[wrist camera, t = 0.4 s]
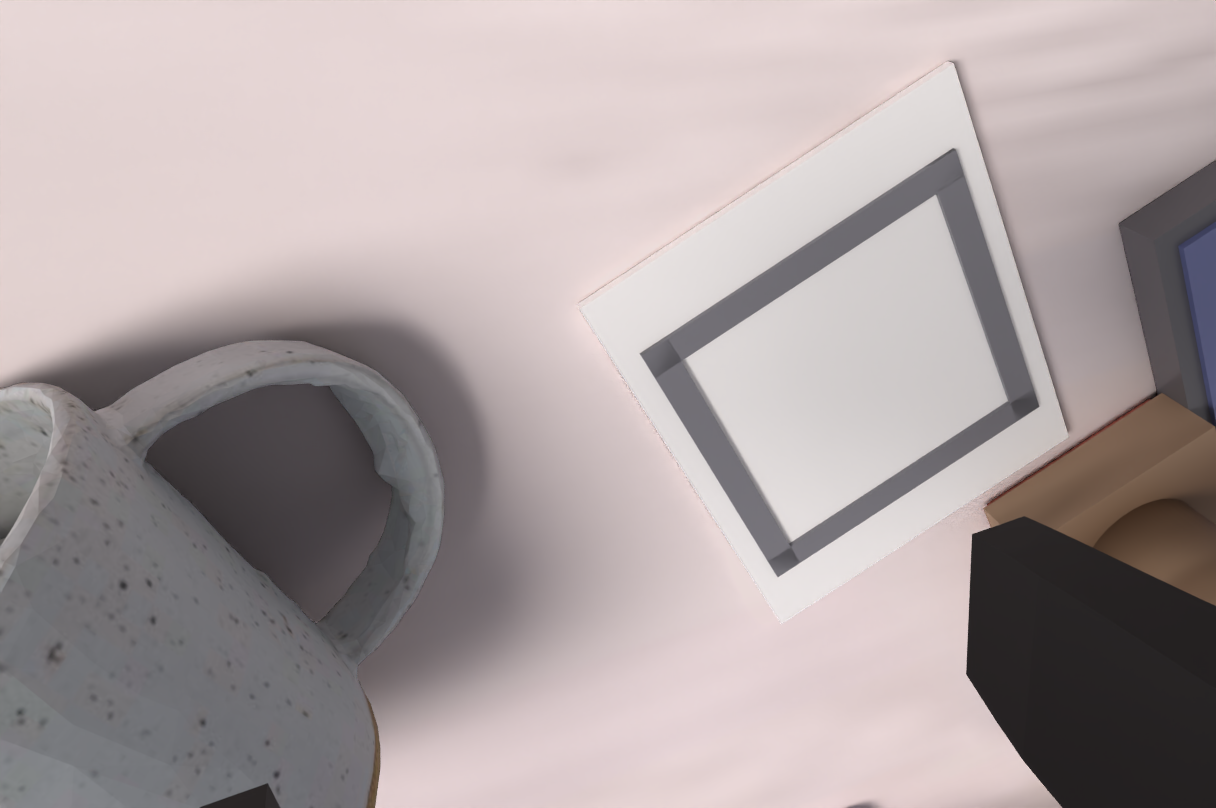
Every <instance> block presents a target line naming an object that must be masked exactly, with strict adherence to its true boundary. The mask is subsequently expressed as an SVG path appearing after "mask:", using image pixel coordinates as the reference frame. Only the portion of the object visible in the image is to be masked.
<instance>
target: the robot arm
mask: <svg viewBox="0 0 1216 808" xmlns="http://www.w3.org/2000/svg"><path fill="white" fill-rule="evenodd" d="M966 674H967V676H968V678H969V679H970V681H971V682H972V684H973V685H974V687H975V689H976V690H977V692H978V693H979V695H980V696H981V698H982V699H983V701H984V703H985V704H986V706H987V707H988V709H989V710H990V712H991V714H992V715H993V717H994V718H995V720H996V721H997V723H998V724H999V726H1000V727H1001V729H1002V730H1003V732H1004V733H1005V735H1006V736H1007V737H1008V739H1009V740H1010V742H1011V743H1012V745H1013V746H1014V748H1015V749H1016V751H1017V752H1018V754H1019V755H1020V757H1021V758H1022V759H1023V761H1024V762H1025V763H1026V764H1027V766H1028V767H1029V768H1030V769H1031V770H1032V772H1033V773H1034V774H1035V775H1036V777H1037V778H1038V779H1039V780H1040V781H1041V783H1042V784H1043V785H1044V786H1045V787H1046V789H1047V790H1048V791H1049V792H1050V793H1051V794H1052V796H1053V797H1054V798H1055V799H1056V800H1057V802H1058V803H1059V804H1060V805H1061V806H1062V808H1216V606H1215V605H1213V604H1211V603H1209V602H1206V601H1204V600H1202V599H1200V598H1198V597H1196V596H1194V595H1191V594H1189V593H1187V592H1185V591H1183V590H1181V589H1179V588H1176V587H1174V586H1172V585H1170V584H1168V583H1166V582H1164V581H1162V580H1160V579H1157V578H1155V577H1153V576H1151V575H1149V574H1147V573H1145V572H1143V571H1141V570H1139V569H1136V568H1134V567H1132V566H1130V565H1128V564H1126V563H1124V562H1122V561H1120V560H1118V559H1116V558H1113V557H1111V556H1109V555H1107V554H1105V553H1103V552H1101V551H1099V550H1097V549H1095V548H1093V547H1090V546H1088V545H1086V544H1084V543H1082V542H1080V541H1078V540H1076V539H1074V538H1072V537H1069V536H1067V535H1065V534H1063V533H1061V532H1059V531H1057V530H1054V529H1052V528H1050V527H1048V526H1046V525H1043V524H1041V523H1039V522H1037V521H1034V520H1032V519H1030V518H1028V517H1025V516H1023V517H1020V518H1017V519H1014V520H1012V521H1009V522H1006V523H1003V524H1000V525H997V526H995V527H992V528H989V529H986V530H983V531H980V532H978V533H975V534H972V551H971V575H970V599H969V623H968V647H967V671H966ZM200 808H280V806H279V804H278V802H277V800H276V798H275V796H274V794H273V792H272V790H271V788H270V786H269V784H268V783H267V784H264V785H261V786H258V787H255V788H253V789H250V790H247V791H244V792H241V793H238V794H236V795H233V796H230V797H227V798H224V799H221V800H219V801H216V802H213V803H210V804H207V805H204V806H202V807H200Z"/></svg>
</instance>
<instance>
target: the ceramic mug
mask: <svg viewBox="0 0 1216 808" xmlns="http://www.w3.org/2000/svg"><path fill="white" fill-rule="evenodd" d="M305 383H310V384H312V385H314V386H327V385H329V386H330V388H331V390H332V392H333V393H334V395H335V396H336V397H337V399H338V400H339V401H340V403H341V404H342V405H343V407H344V408H345V409H346V411H347V412H348V413H349V415H350V416H351V417H352V418H353V419H354V420H355V422H356V424H357V425H358V427H359V428H360V430H361V432H362V433H363V435H364V437H365V439H366V441H367V442H368V444H369V446H370V448H371V450H372V452H373V456H374V467H375V472H376V473H377V474H378V475H379V476H380V477H381V478H382V479H383V480H384V481H385V482H386V483H388V484H390V485H392V499H391V504H390V509H389V514H388V518H387V522H386V525H385V529H384V532H383V534H382V536H381V539H380V541H379V543H378V545H377V547H376V548H375V549H374V551H373V552H372V553H371V555H370V557H369V560H368V563H367V566H366V568H365V569H364V570H363V572H362V573H361V574H360V575H359V576H358V578H357V579H356V580H355V581H354V583H353V584H352V585H351V587H350V588H349V590H348V591H347V593H346V594H345V596H344V597H343V598H342V599H340V600H339V601H338V602H337V603H336V605H335V606H334V607H333V608H332V609H331V610H330V611H329V613H328V614H327V615H326V616H325V617H324V618H323V619H322V620H321V621H320V622H318V623H315V624H314V623H313V622H312V621H311V620H310V619H309V618H308V617H307V616H306V615H305V614H304V613H303V612H302V610H301V609H300V608H299V606H298V605H297V604H296V603H295V602H294V601H292V600H291V599H289V598H288V597H287V596H286V595H285V594H284V593H283V592H282V591H281V590H280V589H279V588H278V587H277V586H276V585H275V584H274V583H273V582H272V581H271V579H270V578H269V577H268V576H267V575H266V574H265V573H264V572H262V571H259V570H257V569H255V568H253V567H252V566H251V565H250V564H249V563H248V562H247V561H246V560H245V559H244V558H243V557H242V556H241V555H240V554H239V553H238V552H237V551H236V550H235V549H233V548H232V547H231V546H230V545H229V544H228V543H227V542H226V541H225V540H224V538H223V537H222V536H221V535H220V534H219V533H218V532H217V531H216V530H215V528H214V527H213V526H212V525H211V524H210V523H209V522H208V521H207V519H206V518H205V517H204V516H203V515H202V514H201V513H200V512H199V511H198V510H197V509H196V508H195V507H194V506H193V505H192V503H191V502H190V501H189V500H188V499H186V498H185V497H183V496H182V495H181V494H180V493H179V491H178V490H176V489H175V488H174V487H173V486H172V485H171V484H169V483H168V482H167V481H166V480H165V479H164V478H163V477H162V476H161V475H160V474H159V473H158V472H157V471H156V470H155V469H154V468H153V466H152V465H151V464H149V463H148V462H146V461H145V457H146V454H147V451H148V449H149V448H150V447H151V446H152V445H153V444H154V443H155V441H156V440H157V439H158V438H159V437H160V436H161V435H162V434H164V433H165V432H167V431H168V430H170V429H171V428H173V427H174V426H176V425H178V424H179V423H181V422H183V421H186V420H188V419H191V418H194V417H196V416H198V415H199V414H201V413H202V412H204V411H205V410H207V409H209V408H210V407H212V406H215V405H217V404H219V403H222V402H224V401H226V400H229V399H231V398H233V397H236V396H238V395H241V394H243V393H245V392H248V391H250V390H253V389H256V388H260V387H265V386H269V385H290V384H305ZM443 521H444V479H443V475H442V471H441V468H440V464H439V460H438V456H437V453H436V449H435V446H434V444H433V442H432V440H431V438H430V436H429V434H428V433H427V431H426V429H425V427H424V425H423V424H422V422H421V420H420V419H419V417H418V416H417V414H416V413H415V411H414V410H413V408H412V407H411V406H410V404H409V403H408V401H407V400H406V398H405V397H404V395H403V394H402V393H401V392H400V391H399V390H398V389H396V388H395V387H394V386H393V385H392V384H391V383H390V382H389V381H387V380H386V379H385V378H384V377H383V376H382V375H381V374H380V373H379V372H377V371H376V370H374V369H371V368H370V367H369V366H367V365H364V364H362V363H360V362H357V361H355V360H353V359H350V358H348V357H345V356H343V355H341V354H338V353H336V352H333V351H331V350H328V349H326V348H323V347H319V346H316V345H313V344H310V343H307V342H304V341H287V340H252V341H246V342H240V343H235V344H229V345H226V346H223V347H220V348H217V349H214V350H210V351H207V352H205V353H202V354H200V355H198V356H196V357H193V358H191V359H189V360H186V361H184V362H182V363H179V364H177V365H175V366H173V367H171V368H169V369H167V370H166V371H164V372H162V373H160V374H158V375H157V376H155V377H153V378H151V379H149V380H148V381H146V382H144V383H142V384H140V385H139V386H137V387H135V388H133V389H131V390H130V391H129V392H127V393H126V394H125V395H123V396H122V397H121V398H120V399H118V400H117V401H116V402H114V403H113V404H112V405H110V406H108V407H105V408H102V409H99V410H96V411H93V410H92V409H90V408H89V407H88V406H87V405H85V404H84V403H83V402H82V401H81V400H80V399H79V398H77V397H75V396H74V395H72V394H70V393H69V392H67V391H65V390H63V389H62V388H60V387H57V386H54V385H50V384H46V383H18V384H15V385H12V386H9V387H6V388H1V389H0V808H200V807H202V806H204V805H207V804H210V803H213V802H216V801H219V800H221V799H224V798H227V797H230V796H233V795H236V794H238V793H241V792H244V791H247V790H250V789H253V788H255V787H258V786H261V785H264V784H267V783H268V784H269V786H270V788H271V790H272V792H273V794H274V796H275V798H276V800H277V802H278V804H279V806H280V808H375V804H376V796H377V789H378V781H379V774H380V742H379V734H378V726H377V723H376V720H375V717H374V714H373V711H372V707H371V704H370V702H369V700H368V698H367V697H366V695H365V693H364V691H363V689H362V687H361V685H360V683H359V681H358V680H357V669H358V665H359V664H360V663H361V662H362V661H363V660H364V659H365V658H366V657H367V656H368V655H370V654H371V653H372V652H373V651H375V650H376V649H377V648H378V647H379V646H380V644H381V643H382V642H383V641H384V639H385V638H386V637H387V636H388V635H389V634H390V633H391V632H392V631H393V630H394V629H395V627H396V626H397V625H398V623H399V622H400V620H401V618H402V617H403V615H404V614H405V613H406V611H407V610H408V609H409V608H410V606H411V605H412V604H413V602H414V601H415V599H416V598H417V596H418V594H419V592H420V590H421V588H422V586H423V584H424V582H425V579H426V577H427V575H428V573H429V571H430V569H431V567H432V565H433V563H434V561H435V559H436V556H437V553H438V550H439V547H440V542H441V535H442V528H443Z"/></svg>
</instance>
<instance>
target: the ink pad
mask: <svg viewBox="0 0 1216 808" xmlns="http://www.w3.org/2000/svg"><path fill="white" fill-rule="evenodd" d="M1119 227H1120V231H1121V236H1122V240H1123V245H1124V249H1125V253H1126V258H1127V262H1128V266H1129V271H1130V275H1131V280H1132V284H1133V288H1134V293H1135V297H1136V301H1137V306H1138V310H1139V315H1140V319H1141V323H1142V328H1143V332H1144V336H1145V341H1146V345H1147V350H1148V354H1149V358H1150V363H1151V367H1152V371H1153V376H1154V380H1155V385H1156V389H1157V393H1158V395H1159V394H1161V393H1163V394H1165V395H1166V396H1168V397H1169V398H1171V399H1173V400H1174V401H1176V402H1177V403H1179V404H1180V405H1182V406H1184V407H1185V408H1187V409H1188V410H1190V411H1191V412H1193V413H1195V414H1196V415H1198V416H1199V417H1201V418H1202V419H1204V420H1206V421H1207V422H1209V423H1210V424H1212V425H1213V426H1215V430H1216V161H1214V162H1213V163H1211V164H1210V165H1208V166H1207V167H1205V168H1203V169H1202V170H1200V171H1199V172H1197V173H1196V174H1194V175H1193V176H1191V177H1190V178H1188V179H1187V180H1185V181H1184V182H1182V183H1181V184H1179V185H1177V186H1176V187H1174V188H1173V189H1171V190H1170V191H1168V192H1167V193H1165V194H1164V195H1162V196H1161V197H1159V198H1158V199H1156V200H1155V201H1153V202H1151V203H1150V204H1148V205H1147V206H1145V207H1144V208H1142V209H1141V210H1139V211H1138V212H1136V213H1135V214H1133V215H1132V216H1130V217H1128V218H1127V219H1125V220H1124V221H1122V222H1121V223H1119Z"/></svg>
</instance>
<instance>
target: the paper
mask: <svg viewBox="0 0 1216 808" xmlns="http://www.w3.org/2000/svg"><path fill="white" fill-rule="evenodd" d="M577 306H578V308H579V310H580V311H581V313H582V314H583V316H584V317H585V319H586V320H587V322H588V324H589V325H590V327H591V328H592V330H593V331H594V333H595V335H596V336H597V338H598V339H599V341H600V342H601V344H602V345H603V347H604V349H605V350H606V352H607V353H608V355H609V356H610V358H611V360H612V361H613V363H614V364H615V366H616V367H617V369H618V370H619V372H620V374H621V375H622V377H623V378H624V380H625V381H626V383H627V384H628V386H629V388H630V389H631V391H632V392H633V394H634V395H635V397H636V399H637V400H638V402H639V403H640V405H641V406H642V408H643V409H644V411H645V413H646V414H647V416H648V417H649V419H650V420H651V422H652V424H653V425H654V427H655V428H656V430H657V431H658V433H659V434H660V436H661V438H662V439H663V441H664V442H665V444H666V445H667V447H668V449H669V450H670V452H671V453H672V455H673V456H674V458H675V459H676V461H677V463H678V464H679V466H680V467H681V469H682V470H683V472H684V474H685V475H686V477H687V478H688V480H689V481H690V483H691V484H692V486H693V488H694V489H695V491H696V492H697V494H698V495H699V497H700V499H701V500H702V502H703V503H704V505H705V506H706V508H707V509H708V511H709V513H710V514H711V516H712V517H713V519H714V520H715V522H716V523H717V525H718V527H719V528H720V530H721V531H722V533H723V534H724V536H725V538H726V539H727V541H728V542H729V544H730V545H731V547H732V548H733V550H734V552H735V553H736V555H737V556H738V558H739V559H740V561H741V563H742V564H743V566H744V567H745V569H746V570H747V572H748V573H749V575H750V577H751V578H752V580H753V581H754V583H755V584H756V586H757V588H758V589H759V591H760V592H761V594H762V595H763V597H764V598H765V600H766V602H767V603H768V605H769V606H770V608H771V609H772V611H773V613H774V614H775V616H776V617H777V619H778V620H779V622H780V623H781V624H783V623H784V622H786V621H787V620H789V619H791V618H792V617H794V616H795V615H797V614H798V613H800V612H801V611H803V610H804V609H806V608H807V607H809V606H810V605H812V604H814V603H815V602H817V601H818V600H820V599H821V598H823V597H824V596H826V595H827V594H829V593H830V592H832V591H834V590H835V589H837V588H838V587H840V586H841V585H843V584H844V583H846V582H847V581H849V580H850V579H852V578H853V577H855V576H857V575H858V574H860V573H861V572H863V571H864V570H866V569H867V568H869V567H870V566H872V565H873V564H875V563H877V562H878V561H880V560H881V559H883V558H884V557H886V556H887V555H889V554H890V553H892V552H893V551H895V550H896V549H898V548H900V547H901V546H903V545H904V544H906V543H907V542H909V541H910V540H912V539H913V538H915V537H916V536H918V535H919V534H921V533H923V532H924V531H926V530H927V529H929V528H930V527H932V526H933V525H935V524H936V523H938V522H939V521H941V520H943V519H944V518H946V517H947V516H949V515H950V514H952V513H953V512H955V511H956V510H958V509H959V508H961V507H962V506H964V505H966V504H967V503H969V502H970V501H972V500H973V499H975V498H976V497H978V496H979V495H981V494H982V493H984V492H986V491H987V490H989V489H990V488H992V487H993V486H995V485H996V484H998V483H999V482H1001V481H1002V480H1004V479H1005V478H1007V477H1009V476H1010V475H1012V474H1013V473H1015V472H1016V471H1018V470H1019V469H1021V468H1022V467H1024V466H1025V465H1027V464H1029V463H1030V462H1032V461H1033V460H1035V459H1036V458H1038V457H1039V456H1041V455H1042V454H1044V453H1045V452H1047V451H1048V450H1050V449H1052V448H1053V447H1055V446H1056V445H1058V444H1059V443H1061V442H1062V441H1064V440H1065V439H1067V438H1068V437H1069V435H1068V432H1067V429H1066V425H1065V422H1064V419H1063V416H1062V412H1061V409H1060V406H1059V403H1058V399H1057V396H1056V393H1055V390H1054V386H1053V383H1052V380H1051V377H1050V373H1049V370H1048V367H1047V364H1046V360H1045V357H1044V354H1043V351H1042V348H1041V344H1040V341H1039V338H1038V335H1037V331H1036V328H1035V325H1034V322H1033V318H1032V315H1031V312H1030V309H1029V305H1028V302H1027V299H1026V296H1025V292H1024V289H1023V286H1022V283H1021V279H1020V276H1019V273H1018V270H1017V266H1016V263H1015V260H1014V257H1013V254H1012V250H1011V247H1010V244H1009V241H1008V237H1007V234H1006V231H1005V228H1004V224H1003V221H1002V218H1001V215H1000V211H999V208H998V205H997V202H996V198H995V195H994V192H993V189H992V185H991V182H990V179H989V176H988V172H987V169H986V166H985V163H984V160H983V156H982V153H981V150H980V147H979V143H978V140H977V137H976V134H975V130H974V127H973V124H972V121H971V117H970V114H969V111H968V108H967V104H966V101H965V98H964V95H963V91H962V88H961V85H960V82H959V78H958V75H957V72H956V69H955V65H954V63H951V62H949V61H947V62H945V63H944V64H942V65H941V66H939V67H938V68H936V69H935V70H933V71H932V72H930V73H929V74H927V75H925V76H924V77H922V78H921V79H919V80H918V81H916V82H915V83H913V84H912V85H910V86H909V87H907V88H906V89H904V90H903V91H901V92H900V93H898V94H897V95H895V96H893V97H892V98H890V99H889V100H887V101H886V102H884V103H883V104H881V105H880V106H878V107H877V108H875V109H874V110H872V111H871V112H869V113H868V114H866V115H865V116H863V117H862V118H860V119H858V120H857V121H855V122H854V123H852V124H851V125H849V126H848V127H846V128H845V129H843V130H842V131H840V132H839V133H837V134H836V135H834V136H833V137H831V138H830V139H828V140H826V141H825V142H823V143H822V144H820V145H819V146H817V147H816V148H814V149H813V150H811V151H810V152H808V153H807V154H805V155H804V156H802V157H801V158H799V159H798V160H796V161H795V162H793V163H791V164H790V165H788V166H787V167H785V168H784V169H782V170H781V171H779V172H778V173H776V174H775V175H773V176H772V177H770V178H769V179H767V180H766V181H764V182H763V183H761V184H760V185H758V186H756V187H755V188H753V189H752V190H750V191H749V192H747V193H746V194H744V195H743V196H741V197H740V198H738V199H737V200H735V201H734V202H732V203H731V204H729V205H728V206H726V207H724V208H723V209H721V210H720V211H718V212H717V213H715V214H714V215H712V216H711V217H709V218H708V219H706V220H705V221H703V222H702V223H700V224H699V225H697V226H696V227H694V228H693V229H691V230H689V231H688V232H686V233H685V234H683V235H682V236H680V237H679V238H677V239H676V240H674V241H673V242H671V243H670V244H668V245H667V246H665V247H664V248H662V249H661V250H659V251H657V252H656V253H654V254H653V255H651V256H650V257H648V258H647V259H645V260H644V261H642V262H641V263H639V264H638V265H636V266H635V267H633V268H632V269H630V270H629V271H627V272H626V273H624V274H622V275H621V276H619V277H618V278H616V279H615V280H613V281H612V282H610V283H609V284H607V285H606V286H604V287H603V288H601V289H600V290H598V291H597V292H595V293H594V294H592V295H590V296H589V297H587V298H586V299H584V300H583V301H581V302H580V303H578V304H577Z"/></svg>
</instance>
